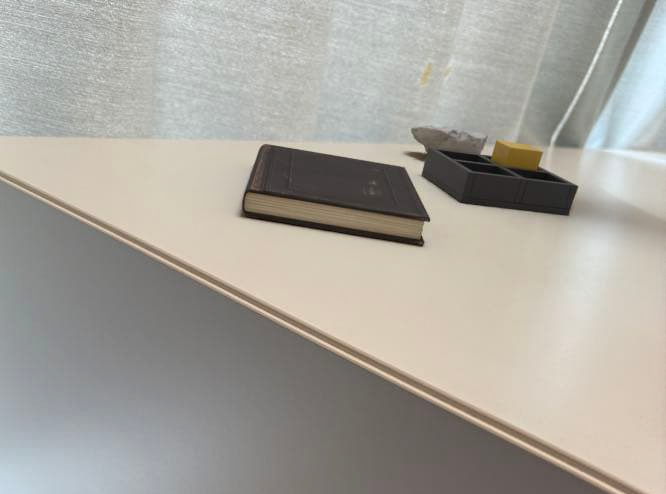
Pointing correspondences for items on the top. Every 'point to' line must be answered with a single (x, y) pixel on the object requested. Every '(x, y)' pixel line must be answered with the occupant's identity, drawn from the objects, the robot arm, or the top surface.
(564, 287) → the top surface
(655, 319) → the top surface
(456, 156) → the divided tray
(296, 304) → the top surface
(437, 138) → the fossil
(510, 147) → the block
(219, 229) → the top surface
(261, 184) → the hardcover book
